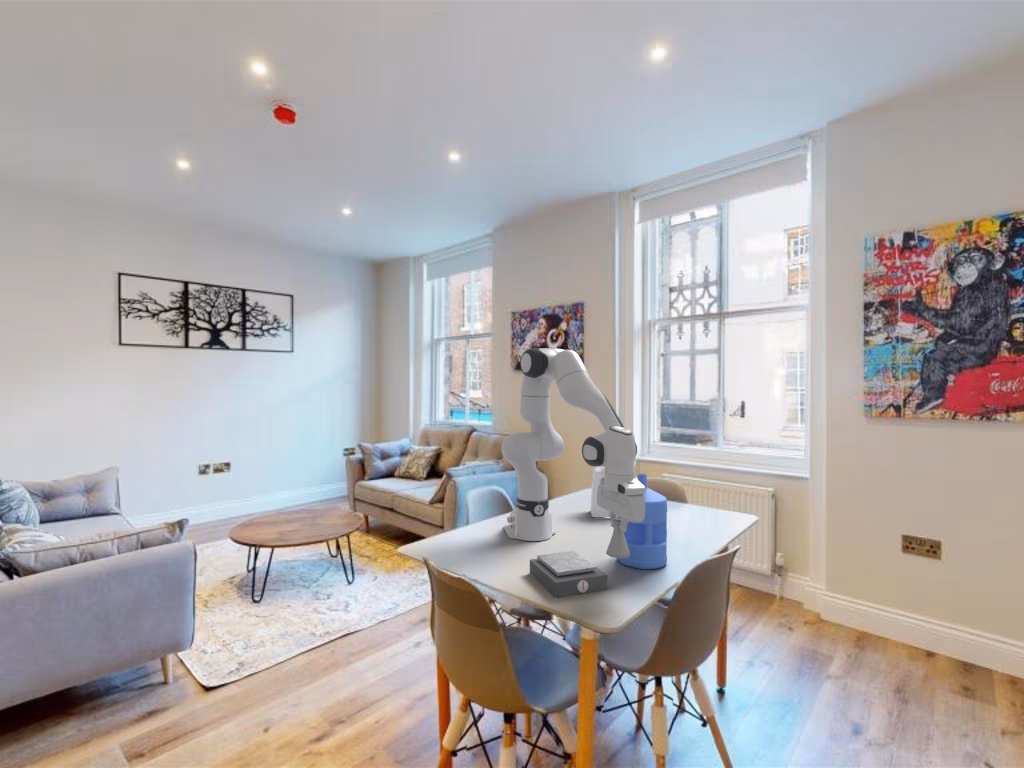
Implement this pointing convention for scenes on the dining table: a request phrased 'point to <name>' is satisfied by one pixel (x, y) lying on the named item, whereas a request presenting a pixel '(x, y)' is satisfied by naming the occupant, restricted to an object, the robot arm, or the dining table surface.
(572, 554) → the pan
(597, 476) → the milk
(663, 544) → the water jug
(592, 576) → the base
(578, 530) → the dining table surface
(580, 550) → the dining table surface
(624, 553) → the flask
